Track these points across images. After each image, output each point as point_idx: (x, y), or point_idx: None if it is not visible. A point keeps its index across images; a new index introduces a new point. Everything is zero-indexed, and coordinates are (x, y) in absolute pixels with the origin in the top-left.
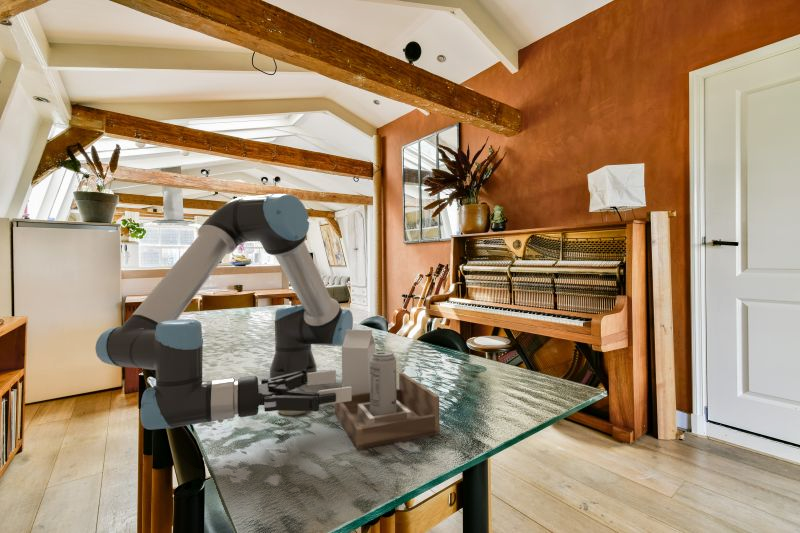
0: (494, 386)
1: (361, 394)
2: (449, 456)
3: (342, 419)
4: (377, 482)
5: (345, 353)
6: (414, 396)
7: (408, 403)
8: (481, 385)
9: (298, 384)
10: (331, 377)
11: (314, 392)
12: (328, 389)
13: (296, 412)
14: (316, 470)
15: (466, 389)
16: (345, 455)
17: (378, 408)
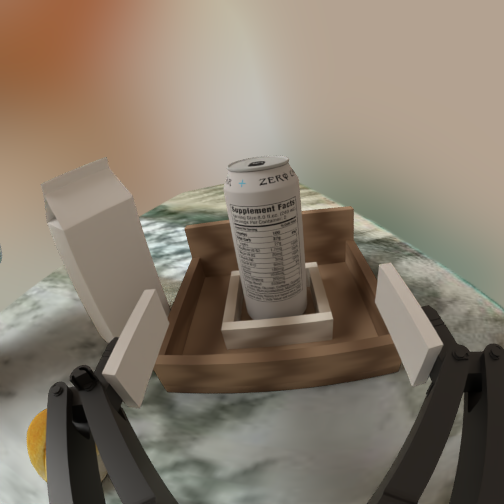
0: (218, 207)
1: (175, 311)
2: (418, 266)
3: (253, 381)
4: (494, 340)
5: (80, 242)
6: None
7: None
8: (206, 212)
9: (135, 439)
10: (159, 319)
11: (443, 362)
12: (414, 316)
13: None
14: None
15: (207, 222)
16: (416, 393)
17: (300, 294)
